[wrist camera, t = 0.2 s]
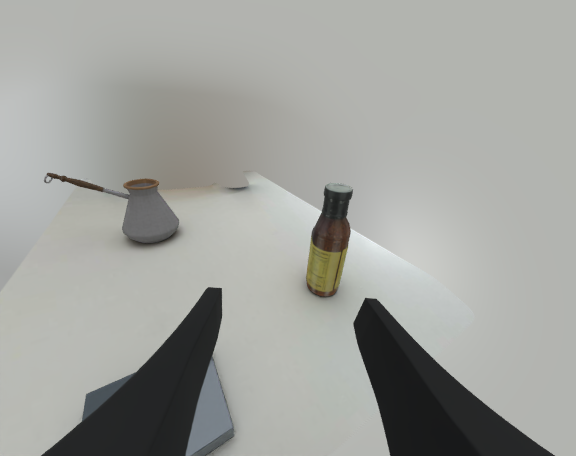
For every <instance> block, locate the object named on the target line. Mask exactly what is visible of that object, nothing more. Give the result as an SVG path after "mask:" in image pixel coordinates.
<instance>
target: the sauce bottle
mask: <svg viewBox="0 0 576 456" xmlns="http://www.w3.org/2000/svg"><path fill="white" fill-rule="evenodd" d="M352 192H353V189H352V187H350V186H348V185H344V184H339V183H330V184H327V185H326V186H325V190H324V196H325V198H324V205H323V209H322V213H321V215H320V217H319V219H318V221H317V223H316V225H315V227H314V228H313V230H312V235H311V244H310V252H309V260H308V268H307V276H306V279H307V286H308V288H309V289H310V291H312V292H313V293H315V294H316V295H319V296H331V295H333V294H334V293H335V292H336V290H337V288H338V286H339V284H340V279H341V275H342V271H343V266H344V262H345V257H346V253H347V249H348V242H349V237H350V226H349V222H348V220H347V218H346V216H347V210H348V205H349V200H350V199H351V197H352Z"/></svg>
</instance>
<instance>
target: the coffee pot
mask: <svg viewBox="0 0 576 456" xmlns="http://www.w3.org/2000/svg"><path fill="white" fill-rule="evenodd" d="M48 176H49V177H51V180H50V181H49V182H46V178H47V177H48ZM53 178H54V179H60V180H61V181H62V182H65V181H66V182H69V183H72V184H74V185H77V186H80V187H84V188H88V189H92V190H97V191H101V192H106V193H109V194H113V195H116V196H119V197H123V198H126V199H129V200H128V205H127V209H126V213H125V218H124V222H123V227H122V230H123V233H124V234H125V235H126V236H128V237H129V238H130V239H133V240H136V241H138V242H141V243H156V242H160V241H163V240H165V239H167V238H169V237H170V236H171V235H172V234H173V233H174V232H175V231H176V229H177V228H178V225H179V219H178V218H177V216H176V215H175V214H174V212H173V211H172V210H171V209H170V207H169V206H168V205H167V203H166V202H165V201H164V199H163V198H162V197H161V195H160V194H159V193H158V191H157V186H158V185H159V182H158V181H157V180H153V179H138V180H132V181H129V182H126V183H125V184H124V185H123V186H124V188H126V189H127V190H128V191H129V193H130V195H128V194H124V193H120V192H116V191H113V190H109V189H105V188H103V187H100V186H97V185H94V184H91V183H88V182H85V181H81V180H77V179H71V178H67V177H66V176H58V175H57V174H53V173H47V176H46V177H45V179H44V182H45V183H50V182H51V181H52V179H53Z"/></svg>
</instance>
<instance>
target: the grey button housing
mask: <svg viewBox="0 0 576 456" xmlns="http://www.w3.org/2000/svg"><path fill="white" fill-rule="evenodd" d="M134 374H135V373H133V374H131V375H129V376H126V377H124V378H122V379H120V380H117V381H115V382H113V383H111V384H108V385H106V386H104V387H101V388H99V389H97V390H95V391H92V392H90V393H88V394H86V399H85V406H84V412H83V418H82V421H83V420H84V419H86V418H87V417H88V416H89V415H90V414H91V413H93V412H94V411H95V410H96V409H97V408H98V407H100V406H101V405H102V404H103V403H104V402H105V401H106V400H107V399H108V398H110V397H111V396H112V395H113V394H114V393H115V392H116V391H117V390H118V389H119V388H120V387H121V386H122V385H123V384H124V383H126V382H127V381H128V380H129V379H130V378H131V377H132V376H133V375H134ZM233 436H234V427H233V424H232V420H231V417H230V414H229V410H228V407H227V404H226V400H225V397H224V394H223V390H222V387H221V384H220V380H219V377H218V374H217V370H216V367H215V364H214V360H213V357H211V361H210V364H209V367H208V370H207V373H206V376H205V380H204V383H203V386H202V389H201V392H200V396H199V400H198V403H197V407H196V411H195V416H194V420H193V424H192V429H191V433H190V437H189V442H188V446H187V451H186V455H185V456H206V455H207V454H208V453H210V452H211V451H213V450H214V449H216V448H217V447H219V446H220V445H221V444H223V443H224V442H226V441H227V440H229V439H230V438H232V437H233Z"/></svg>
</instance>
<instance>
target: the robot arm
mask: <svg viewBox="0 0 576 456" xmlns="http://www.w3.org/2000/svg"><path fill="white" fill-rule="evenodd" d="M221 319H222V288H211V287H208V288H207V289H206V290H205V292H204V293H203V295H202V296H201V298H200V299H199V300H198V302H197V303H196V305H195V306H194V307H193V309H192V310H191V311H190V313H189V314H188V315H187V316H186V318H185V319H184V320H183V321H182V322H181V324H180V325H179V326H178V327H177V329H176V330H175V331H174V332H173V333H172V334H171V336H170V337H169V338H168V339H167V340H166V341H165V342H164V344H163V345H162V346H161V347H160V348H159V349H158V350H157V351H156V352H155V353H154V355H153V356H152V357H151V358H150V359H149V360H148V361H147V362H146V363H145V364H144V365H143V366H142V367H141V368H140V369H139V370H138V371H137V372H136V373H135V374H134V375H133V376H132V377H131V378H130V379H129V380H128V381H127V382H126V383H124V384H123V385H122V386H121V387H120V388H119V389H118V390H117V391H116V392H115V393H114V394H113V395H112V396H111V397H110V398H108V399H107V400H106V401H105V402H104V403H103V404H102V405H101V406H100V407H98V408H97V409H96V410H95V411H94V412H93V413H91V414H90V415H89V416H88V417H87V418H86V419H84V420H83V421H82V422H81V423H80V424H79V425H77V426H76V427H75V428H74V429H73V430H72V431H70V432H69V433H68V434H67V435H66V436H65V437H63V438H62V439H61V440H60V441H59V442H57V443H56V444H55V445H54V446H53V447H51V448H50V449H49V450H48V451H46V452H45V453H44V454H43V455H41V456H185V455H186V451H187V446H188V442H189V437H190V433H191V429H192V424H193V420H194V416H195V411H196V407H197V403H198V400H199V396H200V392H201V389H202V386H203V383H204V380H205V376H206V373H207V370H208V367H209V364H210V361H211V357H212V354H213V351H214V348H215V345H216V341H217V338H218V334H219V329H220V324H221ZM353 324H354V329H355V334H356V339H357V343H358V347H359V350H360V353H361V356H362V359H363V362H364V364H365V367H366V370H367V373H368V376H369V379H370V382H371V385H372V388H373V390H374V393H375V397H376V400H377V403H378V406H379V410H380V414H381V418H382V422H383V426H384V430H385V434H386V438H387V443H388V447H389V452H390V456H554V455H553V454H552V453H550V452H549V451H547V450H546V449H544V448H543V447H541V446H540V445H538V444H537V443H536V442H534V441H533V440H532V439H530V438H529V437H527V436H526V435H525V434H523V433H522V432H520V431H519V430H518V429H517V428H515V427H514V426H513V425H511V424H510V423H509V422H507V421H506V420H505V419H503V418H502V417H501V416H499V415H498V414H497V413H496V412H494V411H493V410H492V409H490V408H489V407H488V406H487V405H485V404H484V403H483V402H482V401H481V400H479V399H478V398H477V397H476V396H474V395H473V394H472V393H471V392H470V391H468V390H467V389H466V388H465V387H464V386H463V385H461V384H460V383H459V382H458V381H457V380H456V379H455V378H454V377H452V376H451V375H450V374H449V373H448V372H447V371H446V370H445V369H443V368H442V367H441V366H440V365H439V364H438V363H437V362H436V361H435V360H434V359H433V358H432V357H431V356H430V355H429V354H428V353H427V352H426V351H425V350H424V349H423V348H422V347H421V346H420V345H419V344H418V343H417V342H416V341H415V340H414V339H413V338H412V337H411V336H410V335H409V334H408V333H407V332H406V330H405V329H404V328H403V327H402V326H401V325H400V324H399V323H398V322H397V321H396V320H395V318H394V317H393V316H392V315H391V314H390V313H389V312H388V311H387V310H386V309H385V307H384V306H383V305H382V304H381V303H380V302H379V301H378V300H377V299H370V298H365V300H364V302H363V304H362V306H361V308H360V310H359V312H358V315H357V317H356V319H355V321H354V323H353Z"/></svg>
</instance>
